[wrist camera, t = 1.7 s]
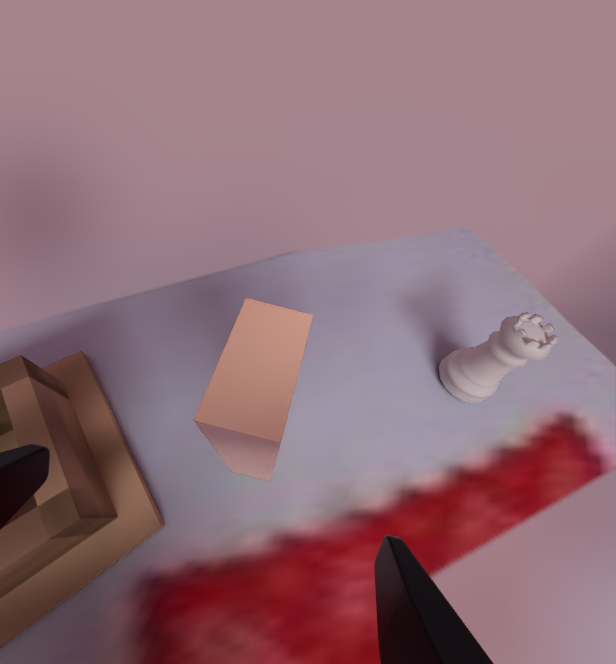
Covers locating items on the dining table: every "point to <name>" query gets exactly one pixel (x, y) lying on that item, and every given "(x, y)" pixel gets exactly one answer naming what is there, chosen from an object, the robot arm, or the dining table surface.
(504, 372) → the rook chess piece
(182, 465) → the dining table surface
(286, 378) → the tan rectangular block
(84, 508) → the wooden compartment tray
